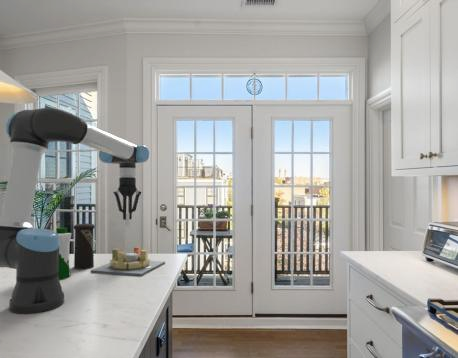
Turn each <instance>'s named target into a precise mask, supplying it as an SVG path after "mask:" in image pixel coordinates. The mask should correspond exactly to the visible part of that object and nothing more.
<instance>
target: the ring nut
mask: <svg viewBox="0 0 458 358" xmlns="http://www.w3.org/2000/svg"><path fill="white" fill-rule="evenodd" d="M111 251H112V255H111V257H112V258H111V259H110V260H109V263H110V266H111V267H112V268H114V269H125V270H127V269H137V268H142V267H145V266H147V265H149V261H150V258H149V256H148V255H149V253H148V252H149V250H148V249H147V250H146V249H142V246H134V247H133V253H136V254H138V261H137V262H126V254H127V252H125V251H121V249H120V248H112V250H111Z"/></svg>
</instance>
